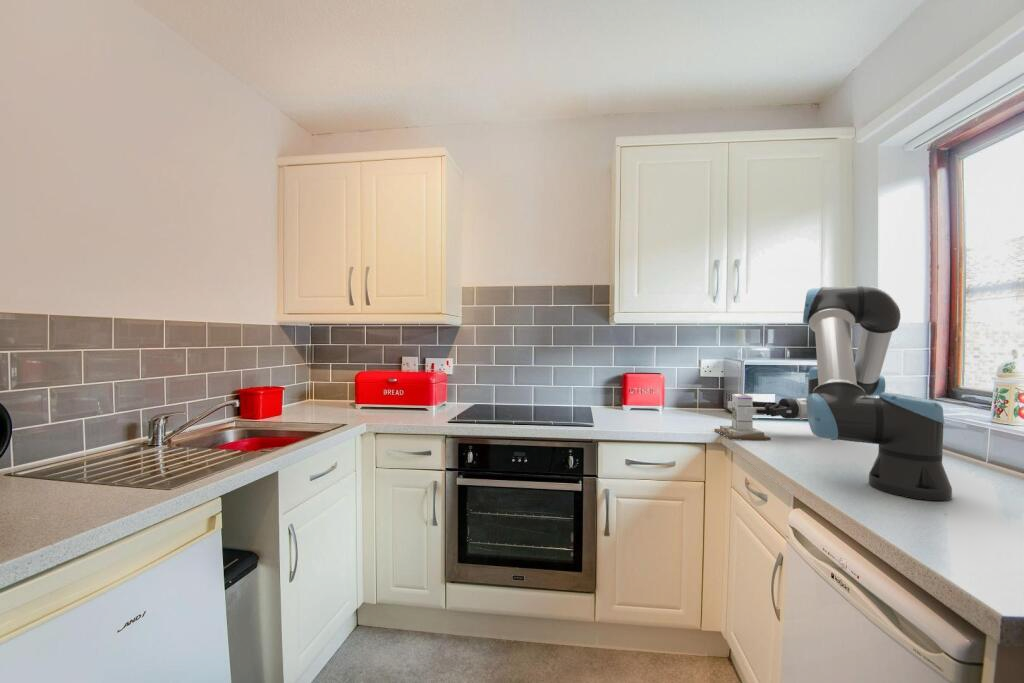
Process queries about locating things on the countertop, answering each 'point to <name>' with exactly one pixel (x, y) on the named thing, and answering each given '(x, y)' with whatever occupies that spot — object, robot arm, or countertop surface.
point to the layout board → (742, 434)
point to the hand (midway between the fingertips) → (736, 407)
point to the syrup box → (741, 412)
